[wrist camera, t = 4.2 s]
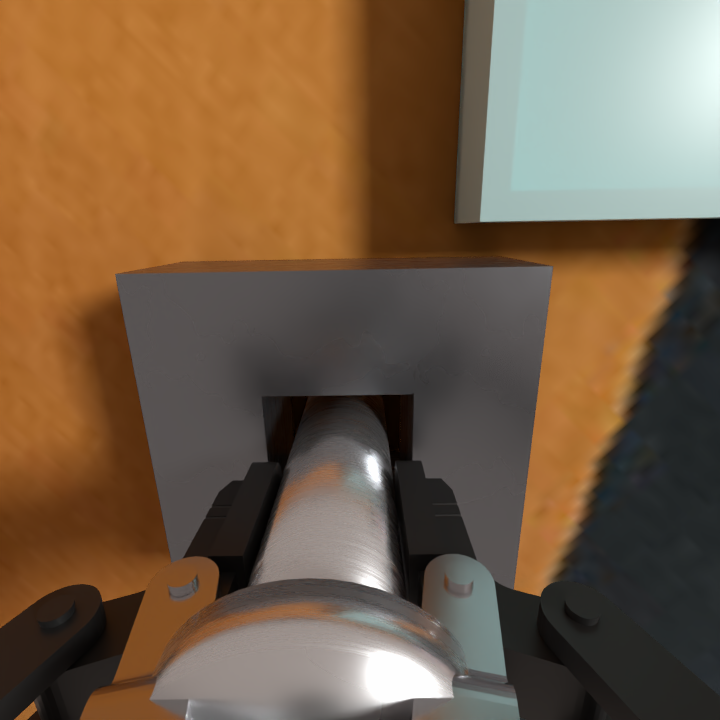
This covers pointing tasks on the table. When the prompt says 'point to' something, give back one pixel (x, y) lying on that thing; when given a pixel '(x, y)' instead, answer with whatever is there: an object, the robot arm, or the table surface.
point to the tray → (589, 111)
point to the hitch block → (342, 373)
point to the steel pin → (319, 595)
